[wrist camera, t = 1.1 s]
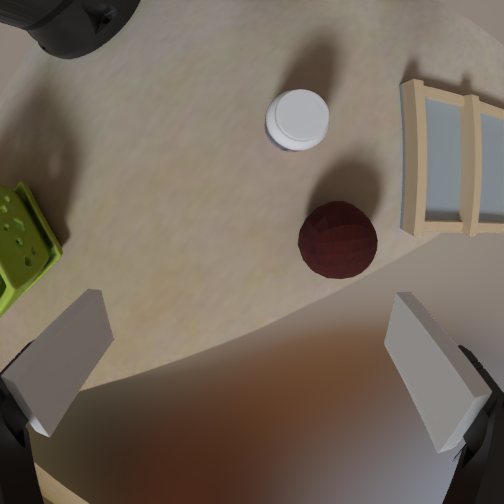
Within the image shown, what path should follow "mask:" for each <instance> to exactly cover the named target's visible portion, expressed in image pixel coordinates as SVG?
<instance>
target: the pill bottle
mask: <svg viewBox="0 0 504 504" xmlns="http://www.w3.org/2000/svg"><path fill="white" fill-rule="evenodd" d="M328 128H329V110H328V107H327V105H326V103H325V101H324V100H323V99H322V98H321V97H320V96H319V95H318V94H316V93H314V92H312V91H309V90H305V89H296V90H290V91H286V92H284V93H282V94H280V95H278V96H277V97H276V98H275V99H274V100H273V101H272V102H271V103H270V105H269V107H268V109H267V112H266V118H265V131H266V134H267V137H268V139H269V140H270V141H271V143H272V144H273V145H274V146H276V147H277V148H279V149H281V150H284V151H288V152H297V151H302V150H306V149H310V148H312V147H314V146H316V145H317V144H318V143H319V142H320V141H322V139H323V138H324V137H325V135H326V133H327V131H328Z"/></svg>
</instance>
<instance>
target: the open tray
mask: <svg viewBox="0 0 504 504" xmlns="http://www.w3.org/2000/svg"><path fill="white" fill-rule="evenodd" d="M399 86H400V97H401V111H402V130H403V188H402V209H401V223H400V228H401V229H403V230H404V231H406V232H407V233H409V234H411V235H412V236H423V232H462V233H464V234H466V235H468V236H476V235H477V232H483V233H484V232H485V233H490V232H491V233H504V110H503V109H501V108H498V107H495V106H493V105H490V104H487V103H484V102H481V101H479V96H476V95H473V94H470V95H465V96H462V95H459V94H455V93H452V92H448V91H444V90H440V89H436V88H432V87H428V86H424V85H423V81H421V80H417V79H412V80H410V81H407V82H405V83H403V84H401V85H399Z"/></svg>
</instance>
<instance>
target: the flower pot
mask: <svg viewBox="0 0 504 504" xmlns="http://www.w3.org/2000/svg"><path fill="white" fill-rule="evenodd" d="M62 254H63V251H62V248H61V246H60V244H59V242H58V241H57V239H56V237H55V235H54V234H53V232H52V230H51V228H50V226H49V225H48V223H47V221H46V219H45V217H44V216H43V214H42V212H41V210H40V208H39V206H38V204H37V202H36V200H35V198H34V196H33V194H32V192H31V191H30V189H29V187H28V186H27V185H26V183H24V182H23V181H20V182H19V183H18V185H17V186H16V187H15V189H14V190H13V191H12V190H11V189H9V188H7V187H4V186H1V185H0V317H1V316H2V315H3V314H4V313H5V312H6V311H7V310H8V309H9V307H10V306H11V305H12V304H13V303H14V302H15V301H16V300H17V299H18V297H19V296H20V295H21V294H22V293H23V292H24V293H25V292H27V291H28V290H29V289H30V288H31V287H32V286H33V285H34V284H35V283H36V282H37V281H38V280H39V279H40V278H41V277H42V276H43V275H44V274H45V273H46V272H47V271H48V270H49V269H50V268H51V267H52V266H53V265H54V264H55V263H56V262H57V261H58V260H59V259H60V257H61V256H62Z"/></svg>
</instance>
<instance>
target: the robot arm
mask: <svg viewBox="0 0 504 504" xmlns="http://www.w3.org/2000/svg"><path fill="white" fill-rule="evenodd" d="M138 2H139V0H0V22H1V23H4V24H8V25H11V26H14V27H18V28H21V29H23V30H26V31H27V32H28V33H29V34H30V35H31V36H32V37H33V38H34V39H35V40H36V41H38V44H39V46H40V47H41V48H42V49H43V50H44V51H45V52H46V53H48V54H50V55H53V56H56V57H58V58H62V59H73V58H78V57H81V56H84V55H86V54H89V53H91V52H92V51H94V50H96V49H98V48H99V47H101V46H102V45H103V44H105V43H106V42H107V41H109V40H110V39H111V38H112V37H113V36H114V35H115V34H116V33H117V32H118V31H119V30H120V29H121V28H122V27H123V26H124V25H125V24H126V22H127V21H128V20H129V18H130V17H131V15H132V14H133V12H134V10H135V9H136V7H137V4H138ZM113 340H114V338H113V334H112V331H111V327H110V324H109V320H108V316H107V312H106V308H105V304H104V300H103V296H102V291H101V290H93V289H88V290H87V291H86V292H84V293H83V294H82V295H81V296H80V297H79V298H78V299H77V300H76V301H75V302H74V303H72V304H71V305H70V306H69V307H68V308H67V309H66V310H65V311H64V312H63V313H62V314H61V315H60V316H59V317H58V318H57V319H56V320H55V321H54V322H52V323H51V324H50V325H49V326H48V327H47V328H46V329H45V330H44V331H43V332H42V333H41V334H40V335H39V336H38V337H37V338H36V339H35V340H33V341H32V342H30V343H28V344H27V345H26V346H25V347H24V348H23V349H22V350H21V353H18V354H17V355H16V356H15V359H13V360H12V361H11V362H10V363H9V364H8V365H7V366H6V367H5V368H4V369H3V370H2V371H1V373H0V504H44V502H43V498H42V494H41V491H40V487H39V483H38V479H37V475H36V470H35V466H34V461H33V456H32V450H31V444H30V438H29V432H28V429H27V428H26V426H25V425H26V424H27V422H28V421H29V422H30V424H31V425H32V427H33V428H34V429H35V431H37V432H39V433H41V434H43V435H46V436H48V437H50V436H51V435H52V433H53V431H54V430H55V428H56V426H57V425H58V423H59V422H60V420H61V418H62V417H63V415H64V413H65V412H66V410H67V409H68V407H69V405H70V404H71V402H72V401H73V399H74V398H75V396H76V395H77V393H78V392H79V390H80V389H81V387H82V385H83V384H84V382H85V381H86V379H87V378H88V376H89V375H90V373H91V372H92V371H93V369H94V368H95V366H96V365H97V363H98V362H99V360H100V359H101V357H102V356H103V354H104V353H105V352H106V350H107V349H108V347H109V346H110V344H111V343H112V342H113ZM384 345H385V347H386V349H387V350H388V352H389V354H390V355H391V358H392V360H393V361H394V364H395V365H396V367H397V369H398V371H399V373H400V375H401V377H402V379H403V381H404V383H405V385H406V387H407V389H408V391H409V393H410V395H411V397H412V399H413V401H414V403H415V405H416V407H417V409H418V411H419V413H420V415H421V418H422V420H423V422H424V424H425V426H426V428H427V431H428V433H429V435H430V437H431V439H432V442H433V444H434V446H435V448H436V451H437V453H441V452H443V451H446V450H449V449H452V448H455V447H456V445H457V444H458V443H459V441H460V440H461V439H462V437H464V440H465V442H466V444H465V445H464V447H463V448H462V449H461V450H460V452H459V453H458V454H457V455H456V456H455V458H454V460H453V462H455V461H456V460H457V459H458V458H459V457H460V458H459V461H458V464H457V467H456V470H455V473H454V476H453V478H452V481H451V484H450V487H449V489H448V491H447V494H446V496H445V498H444V501H443V503H442V504H504V392H502V391H501V389H500V388H499V387H498V385H497V384H496V383H495V381H494V380H493V379H492V377H491V376H490V375H489V373H488V372H487V371H486V370H485V369H483V366H482V365H481V363H480V362H478V360H477V358H476V357H475V356H474V355H473V354H472V352H471V351H469V350H468V349H466V348H465V347H463V346H461V345H459V346H457V345H456V344H455V342H454V341H453V340H452V339H451V338H450V336H449V335H448V334H447V333H446V332H445V330H444V329H443V328H442V327H441V326H440V324H439V323H438V322H437V321H436V320H435V319H434V318H433V316H432V315H431V314H430V313H429V312H428V311H427V310H426V309H425V307H424V306H423V305H422V304H421V303H420V302H419V301H418V299H417V298H416V297H415V296H414V295H413V294H412V293H411V292H398V293H396V295H395V300H394V305H393V309H392V314H391V318H390V323H389V326H388V330H387V334H386V338H385V342H384Z"/></svg>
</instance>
